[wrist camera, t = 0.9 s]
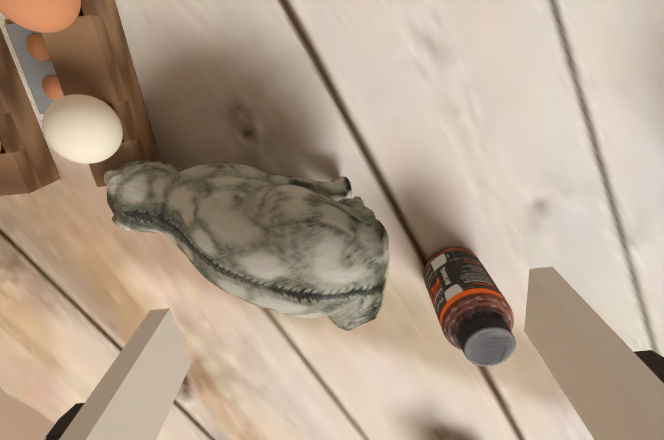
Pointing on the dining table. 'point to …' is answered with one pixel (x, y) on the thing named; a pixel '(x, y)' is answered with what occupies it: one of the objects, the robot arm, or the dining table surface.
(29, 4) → the rust ball
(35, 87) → the card
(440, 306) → the supplement bottle
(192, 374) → the dining table surface
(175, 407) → the dining table surface
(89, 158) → the cream ball
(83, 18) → the rack
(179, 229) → the figurine
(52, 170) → the rack
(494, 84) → the dining table surface
